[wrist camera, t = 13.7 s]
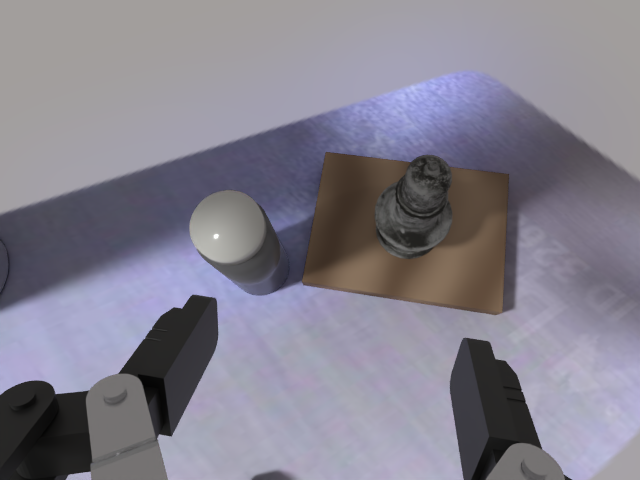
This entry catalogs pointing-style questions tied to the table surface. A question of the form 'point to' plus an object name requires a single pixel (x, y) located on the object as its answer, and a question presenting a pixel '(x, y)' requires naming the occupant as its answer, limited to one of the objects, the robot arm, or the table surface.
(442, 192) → the grey chess piece
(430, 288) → the walnut board
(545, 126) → the table surface
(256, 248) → the grey cylinder
